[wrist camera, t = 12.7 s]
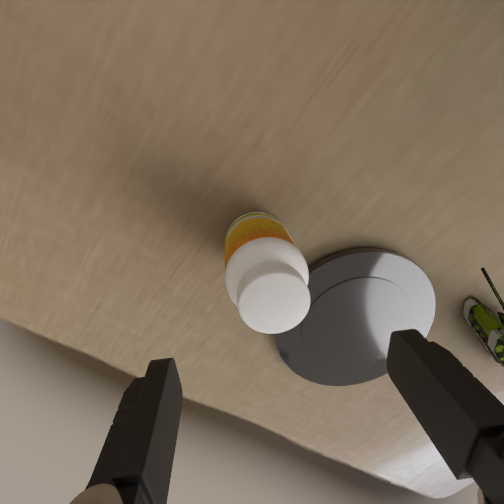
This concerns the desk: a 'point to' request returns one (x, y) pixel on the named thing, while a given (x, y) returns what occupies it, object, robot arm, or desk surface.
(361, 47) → the desk surface
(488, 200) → the desk surface
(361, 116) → the desk surface
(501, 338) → the toy tank
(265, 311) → the supplement bottle
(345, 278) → the plate
